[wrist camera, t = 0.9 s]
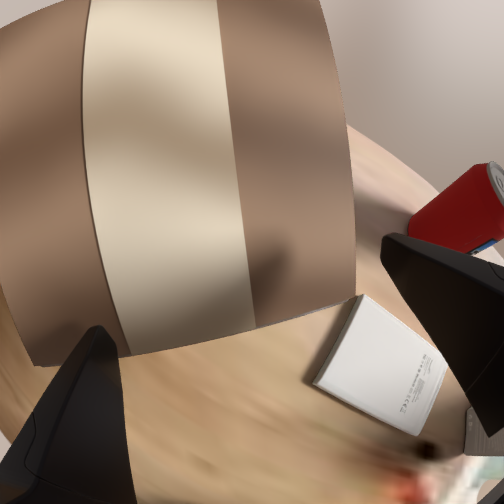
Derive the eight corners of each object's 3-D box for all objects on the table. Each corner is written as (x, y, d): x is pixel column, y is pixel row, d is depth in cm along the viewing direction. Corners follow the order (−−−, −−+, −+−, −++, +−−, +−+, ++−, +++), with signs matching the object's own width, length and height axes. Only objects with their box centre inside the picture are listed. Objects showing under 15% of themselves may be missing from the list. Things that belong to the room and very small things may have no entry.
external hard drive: (355, 297, 22) (440, 360, 22) (308, 383, 19) (408, 434, 18) (365, 292, 21) (451, 358, 20) (317, 384, 18) (419, 437, 17)
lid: (339, 296, 13) (356, 307, 12) (47, 359, 9) (38, 377, 8) (303, 3, 9) (317, -11, 8) (7, 41, 5) (-4, 29, 4)
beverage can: (441, 285, 24) (530, 241, 13) (398, 254, 24) (490, 191, 13) (447, 236, 27) (519, 186, 16) (407, 205, 27) (479, 140, 16)
